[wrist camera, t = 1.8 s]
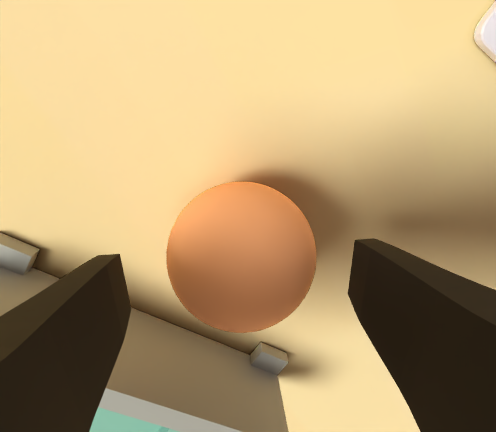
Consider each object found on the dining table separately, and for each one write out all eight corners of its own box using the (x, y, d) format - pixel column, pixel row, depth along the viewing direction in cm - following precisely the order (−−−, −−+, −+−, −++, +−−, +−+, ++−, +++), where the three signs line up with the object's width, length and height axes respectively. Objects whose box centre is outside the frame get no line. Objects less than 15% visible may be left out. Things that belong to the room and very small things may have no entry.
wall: (286, 352, 16) (305, 433, 12) (254, 389, 17) (264, 473, 13) (-2, 231, 12) (-98, 295, 9) (-24, 287, 13) (-118, 366, 9)
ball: (321, 204, 13) (376, 272, 8) (255, 291, 14) (272, 389, 10) (215, 140, 12) (213, 179, 7) (155, 243, 13) (121, 332, 8)
